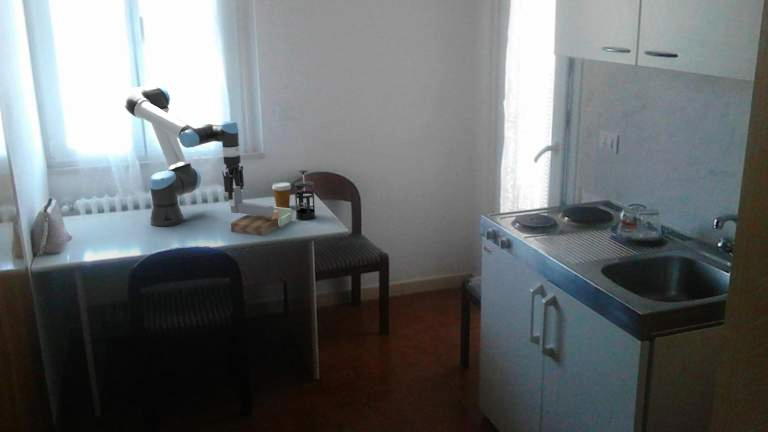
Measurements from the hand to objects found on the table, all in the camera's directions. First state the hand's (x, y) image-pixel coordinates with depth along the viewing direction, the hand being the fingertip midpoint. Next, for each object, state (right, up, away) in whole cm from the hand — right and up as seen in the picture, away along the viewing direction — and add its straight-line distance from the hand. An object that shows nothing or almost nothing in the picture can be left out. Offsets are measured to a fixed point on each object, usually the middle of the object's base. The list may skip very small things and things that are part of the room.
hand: (235, 204), depth 334 cm
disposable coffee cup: (+19, -2, +24) cm, 31 cm away
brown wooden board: (+11, -11, -8) cm, 18 cm away
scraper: (+9, -5, -5) cm, 11 cm away
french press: (+32, -6, +7) cm, 33 cm away
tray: (+16, -8, +1) cm, 18 cm away
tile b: (+18, -6, -6) cm, 20 cm away
